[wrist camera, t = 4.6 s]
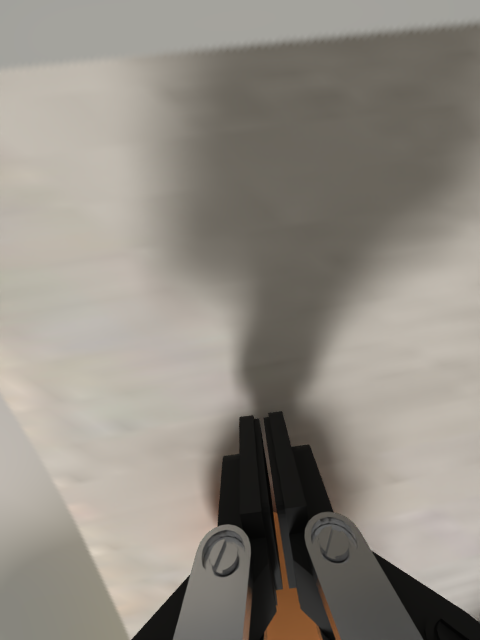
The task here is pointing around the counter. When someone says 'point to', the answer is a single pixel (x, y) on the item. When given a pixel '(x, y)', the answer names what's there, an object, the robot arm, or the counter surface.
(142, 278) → the counter surface
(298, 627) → the ball
